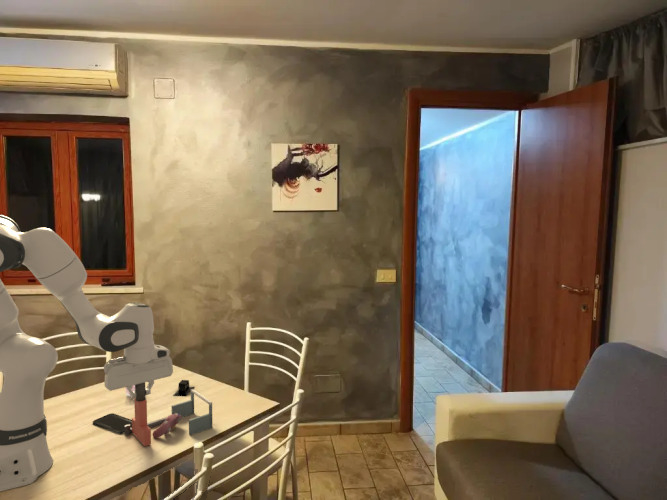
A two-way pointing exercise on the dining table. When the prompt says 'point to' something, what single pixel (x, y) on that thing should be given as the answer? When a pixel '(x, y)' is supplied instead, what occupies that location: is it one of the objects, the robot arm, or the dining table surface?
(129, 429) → the rail
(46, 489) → the dining table surface
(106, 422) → the phone
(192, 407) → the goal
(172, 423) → the video game controller
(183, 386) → the black piece
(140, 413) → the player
